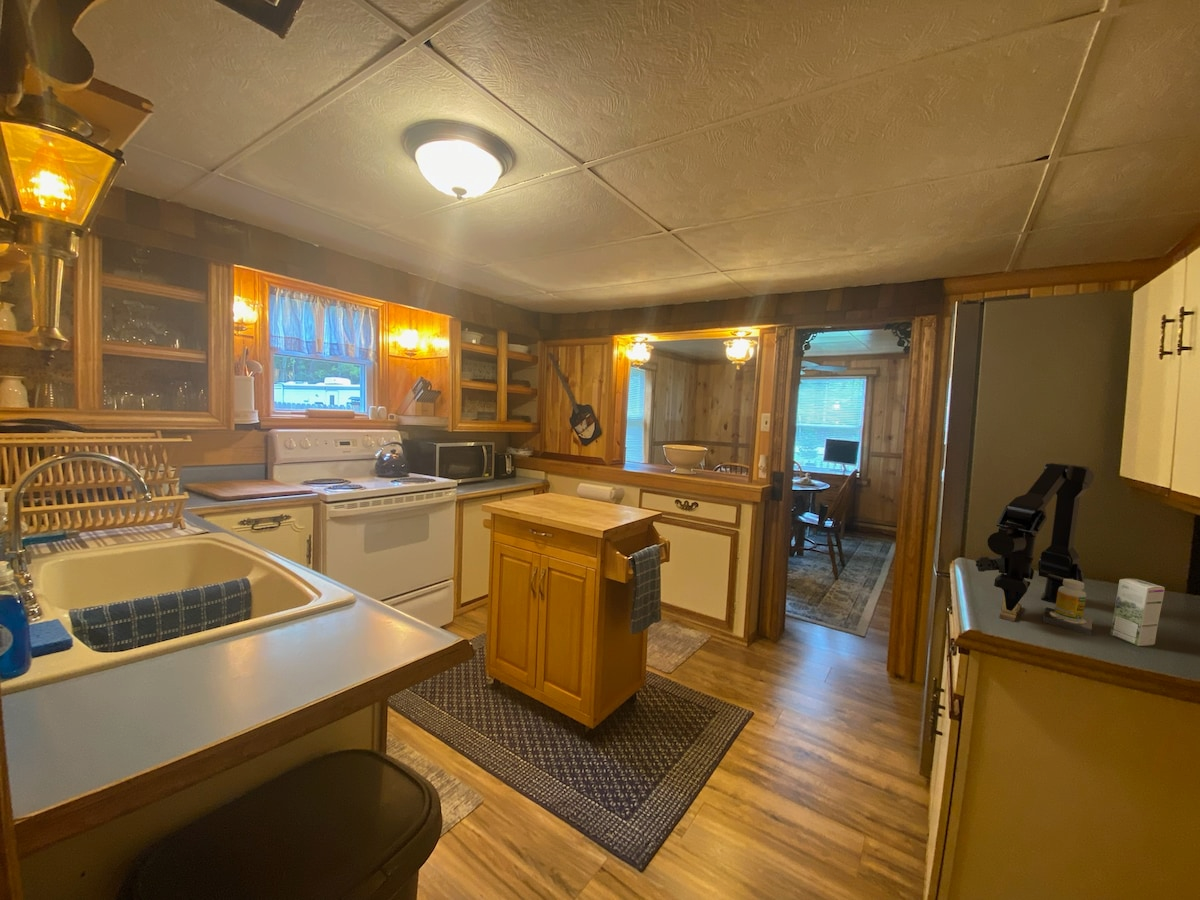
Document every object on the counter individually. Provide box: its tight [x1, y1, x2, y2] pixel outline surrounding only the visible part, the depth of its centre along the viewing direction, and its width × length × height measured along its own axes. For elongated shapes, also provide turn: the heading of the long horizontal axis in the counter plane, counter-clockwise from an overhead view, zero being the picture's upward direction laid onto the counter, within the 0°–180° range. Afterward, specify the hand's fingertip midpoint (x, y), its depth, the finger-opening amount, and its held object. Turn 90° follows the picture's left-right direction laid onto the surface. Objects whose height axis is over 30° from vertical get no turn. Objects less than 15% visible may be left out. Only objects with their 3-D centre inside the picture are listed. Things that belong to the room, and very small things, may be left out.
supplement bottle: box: [1054, 578, 1087, 621], centre depth 130 cm, size 5×5×10 cm
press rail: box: [999, 603, 1022, 623], centre depth 135 cm, size 14×3×1 cm, turn 135°
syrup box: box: [1109, 577, 1166, 647], centre depth 122 cm, size 6×6×14 cm
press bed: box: [1042, 606, 1093, 636], centre depth 130 cm, size 9×9×2 cm
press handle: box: [1001, 594, 1020, 615], centre depth 132 cm, size 3×3×5 cm
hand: (1009, 608), depth 133 cm, fingers closed on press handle, 3 cm apart
